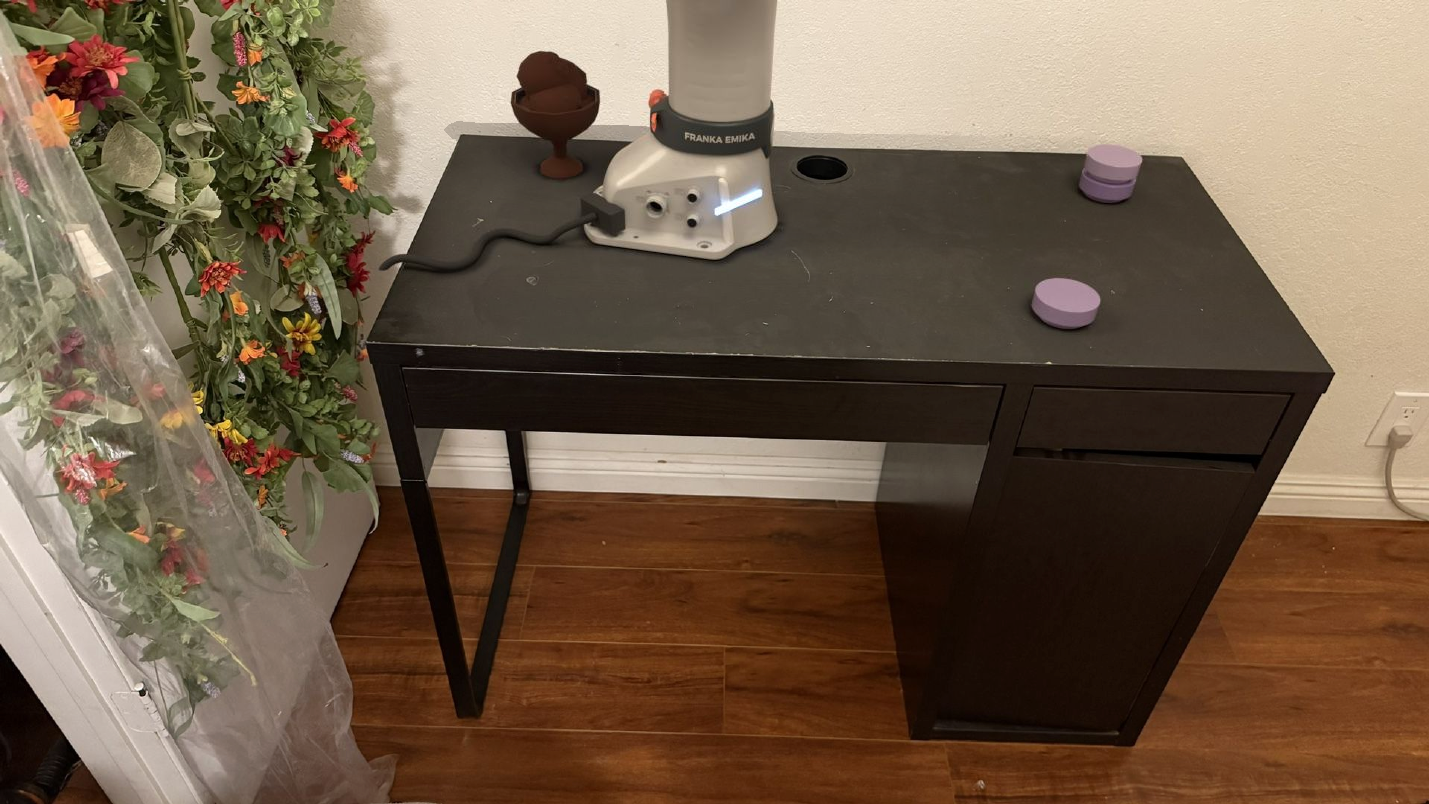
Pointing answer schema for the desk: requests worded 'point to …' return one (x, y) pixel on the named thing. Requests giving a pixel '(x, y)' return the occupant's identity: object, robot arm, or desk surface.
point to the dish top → (1112, 163)
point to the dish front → (1065, 303)
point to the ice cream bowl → (555, 107)
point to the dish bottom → (1105, 189)
